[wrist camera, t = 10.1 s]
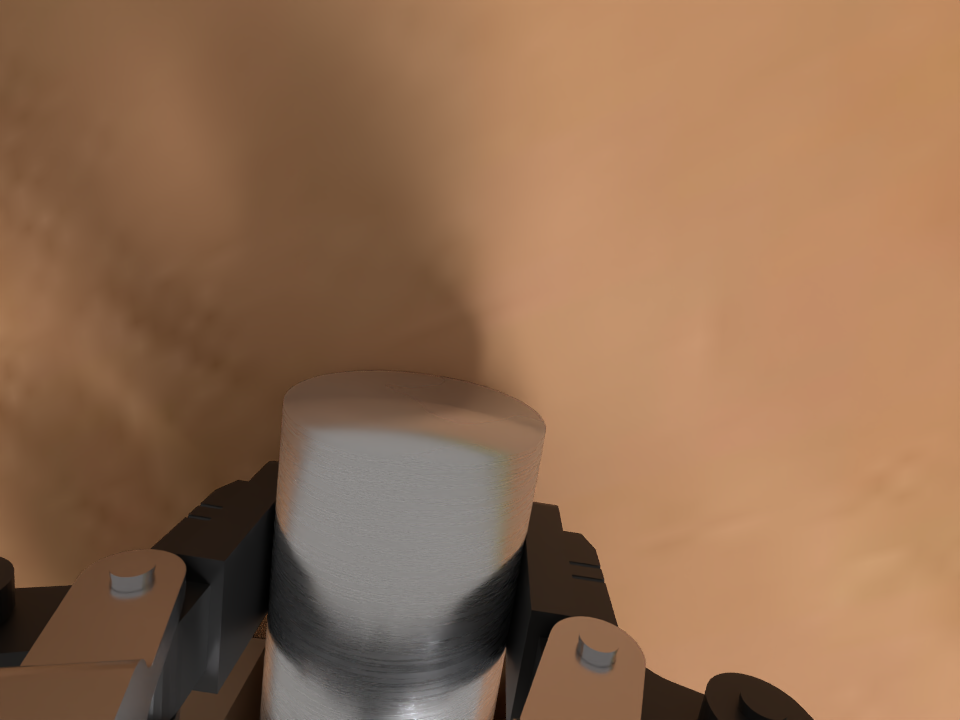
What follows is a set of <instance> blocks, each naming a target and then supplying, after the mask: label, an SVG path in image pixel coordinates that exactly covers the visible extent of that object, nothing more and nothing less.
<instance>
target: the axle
mask: <svg viewBox="0 0 960 720" xmlns="http://www.w3.org/2000/svg"><path fill="white" fill-rule="evenodd" d="M545 432H546V426H545V423H544V421H543V419H542V418H541V416H540V415H539V414H538V413H537V412H536V411H535V410H533V409H532V408H531V407H529V406H528V405H526V404H524V403H523V402H521V401H519V400H517V399H515V398H513V397H511V396H509V395H506V394H504V393H502V392H499V391H496V390H493V389H490V388H488V387H484V386H481V385H478V384H474V383H470V382H466V381H462V380H457V379H453V378H448V377H442V376H436V375H429V374H422V373H413V372H401V371H376V370H367V371H349V372H339V373H331V374H326V375H321V376H317V377H313V378H310V379H307V380H304V381H302V382H300V383H298V384H296V385H294V386H293V387H292V388H290V389H289V390H288V391H287V393H286V394H285V396H284V401H283V415H282V428H281V441H280V455H279V468H278V482H277V495H276V508H275V522H274V535H273V548H272V562H271V575H270V589H269V602H268V615H267V629H266V642H265V656H264V669H263V682H262V696H261V709H260V720H493V717H494V712H495V706H496V701H497V695H498V690H499V684H500V679H501V673H502V668H503V662H504V657H505V652H506V642H507V637H508V631H509V626H510V620H511V615H512V609H513V604H514V598H515V593H516V588H517V582H518V577H519V571H520V566H521V560H522V555H523V549H524V544H525V538H526V535H527V531H528V526H529V520H530V515H531V509H532V504H533V498H534V493H535V487H536V482H537V476H538V471H539V465H540V460H541V454H542V449H543V443H544V438H545Z"/></svg>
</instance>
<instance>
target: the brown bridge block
mask: <svg viewBox="0 0 960 720" xmlns="http://www.w3.org/2000/svg"><path fill="white" fill-rule="evenodd" d="M265 642H266V640H265V639H258V638H251V640H250V642H249V643H248V645H247V646H246V648H245V650H244V651H243V653H242V655H241V656H240V658H239V659H238V661H237V663H236V664H235V666H234V668H233V669H232V671H231V673H230V674H229V676H228V677H227V679H226V681H225V682H224V684H223V686H222V687H221V689H220V690H219V692H218V694H213V693H207V692H200V691H194V690H192V691H191V693H190V694H189V696H188V697H187V699H186V700H185V702H184V703H183V705H182V706H181V714H180V720H260V709H261V696H262V682H263V669H264V656H265Z"/></svg>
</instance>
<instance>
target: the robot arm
mask: <svg viewBox="0 0 960 720" xmlns="http://www.w3.org/2000/svg"><path fill="white" fill-rule="evenodd" d="M278 468H279V462H276V461H269V462H268V463H267V464H266V465H265V466H264V467H263V468H262V469H261V470H260V471H259V472H258V473H257V474H256V475H255V476H254V477H253V478H252V479H251V480H250V481H249V482H248V481H241V480H237V481H235V482H233V483H230V484H228V485H226V486H223V487H221V488H219V489H216V490H215V491H214V492H213V493H212V494H211V495H209V496H208V497H207V498H206V499H205V500H204V501H203V502H202V503H201V505H200V506H197V507H196V508H195V509H194V510H193V511H192V512H191V513H190V514H189V515H188V518H187V517H185V518H184V519H183V520H182V521H181V522H180V523H179V524H177V525H176V526H175V527H174V528H173V529H172V530H171V531H170V532H169V533H168V534H166V535H165V536H164V537H163V538H162V539H161V540H160V541H159V542H158V543H157V544H155V545H154V546H153V547H152V548H151V549H139V550H130V551H125V552H120V553H117V554H113V555H110V556H108V557H105V558H103V559H100V560H98V561H96V562H95V563H93V564H91V565H90V566H88V567H87V568H86V569H85V570H83V571H82V572H81V574H80V575H79V576H78V577H77V579H76V580H75V582H74V583H73V585H68V586H51V587H32V588H15V579H14V567H13V565H12V564H11V562H10V561H8V560H7V559H5V558H2V557H0V720H180V714H181V706H182V705H183V703H184V702H185V700H186V699H187V697H188V696H189V694H190V693H191V691H192V690H194V691H200V692H207V693H213V694H218V692H219V690H220V689H221V687H222V686H223V684H224V682H225V681H226V679H227V677H228V676H229V674H230V673H231V671H232V669H233V668H234V666H235V664H236V663H237V661H238V659H239V658H240V656H241V655H242V653H243V651H244V650H245V648H246V646H247V645H248V643H249V642H250V640H251V638H252V637H253V635H254V633H255V632H256V630H257V629H258V627H259V625H260V624H261V622H262V620H263V619H264V617H265V615H266V614H267V612H268V602H269V589H270V575H271V562H272V548H273V535H274V522H275V508H276V495H277V482H278ZM506 720H814V719H813V718H812V717H811V716H810V715H809V714H808V713H807V712H806V711H805V710H804V709H803V708H802V707H801V706H800V705H799V704H798V703H797V702H796V701H795V700H794V699H792V698H791V697H790V696H789V695H787V694H786V693H784V692H783V691H781V690H780V689H778V688H777V687H775V686H773V685H771V684H769V683H767V682H765V681H763V680H761V679H758V678H755V677H753V676H749V675H745V674H740V673H723V674H719V675H716V676H714V677H713V678H712V679H710V681H709V682H708V684H707V687H706V691H705V694H701V693H699V692H696V691H694V690H691V689H689V688H686V687H684V686H681V685H679V684H676V683H673V682H671V681H669V680H667V679H664V678H662V677H660V676H659V675H657V674H655V673H653V672H652V671H650V670H649V669H647V668H646V661H645V657H644V654H643V652H642V650H641V648H640V646H639V645H638V644H637V642H636V641H635V640H634V639H633V638H632V637H631V636H630V635H628V634H627V633H626V632H625V631H623V630H622V629H620V628H619V627H618V625H617V622H616V618H615V615H614V611H613V608H612V604H611V601H610V598H609V594H608V591H607V587H606V584H605V583H604V577H603V573H602V570H601V569H600V563H599V560H598V556H597V553H596V549H595V548H594V547H593V546H592V545H591V544H590V543H589V542H588V541H587V540H586V539H585V537H584V536H583V535H582V534H579V533H573V532H567V531H563V528H562V523H561V518H560V513H559V508H558V506H557V505H551V504H544V503H538V502H533V504H532V509H531V515H530V520H529V526H528V531H527V535H526V538H525V544H524V549H523V555H522V560H521V566H520V571H519V577H518V582H517V588H516V593H515V598H514V604H513V609H512V615H511V620H510V626H509V631H508V637H507V642H506Z"/></svg>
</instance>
